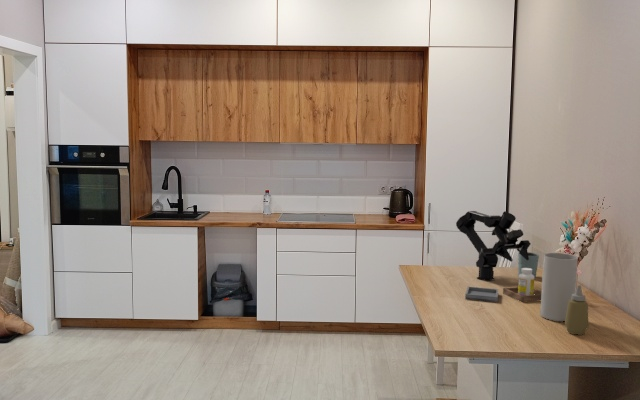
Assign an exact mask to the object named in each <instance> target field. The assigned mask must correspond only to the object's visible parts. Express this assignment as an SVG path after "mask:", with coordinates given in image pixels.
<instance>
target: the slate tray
mask: <svg viewBox="0 0 640 400" xmlns="http://www.w3.org/2000/svg"><path fill="white" fill-rule="evenodd" d="M464 296H465V298H464V300H471V301H481V302H491V303H498V299H499V289H497V288H488V287H476V286H467V287H466V291H465V294H464Z"/></svg>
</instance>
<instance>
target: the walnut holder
mask: <svg viewBox="0 0 640 400" xmlns="http://www.w3.org/2000/svg"><path fill="white" fill-rule="evenodd" d="M502 289H503V290H502V294H503V295H505V296H507V297H510V298H512V299H514V300H517V301H518V300H519V301H518V302H520V301H521V302H520V303H525V302H524V301H530V302H538V301H537V300H541V292H542V290H539V289H536V288H534V294H535V295H527V296H522V295H520V294H518V287H516V286H515V287H504V288H502Z"/></svg>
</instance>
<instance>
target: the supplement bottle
mask: <svg viewBox="0 0 640 400" xmlns="http://www.w3.org/2000/svg"><path fill="white" fill-rule="evenodd" d="M521 271H522V273H521V274H520V275H519V276H518V285H517V286H518V293H517V294H520V295H522V296H527V295H534V289H535V278H534V275H532V269H531V268H522V269H521Z"/></svg>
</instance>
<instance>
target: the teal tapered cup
mask: <svg viewBox="0 0 640 400" xmlns="http://www.w3.org/2000/svg"><path fill="white" fill-rule="evenodd" d="M527 252H528V251H527ZM528 257H529V260H526V259H525V258H524V257H523V256H522V255H521V254H519V252H518V253H517V259H518V261H517V263H518V265H517V266H518V267H517V268H518V274H517V275H518V277H519V275H520V274H521V273H522V271H521V269H522V268H531V269H532V275H534V279H536V278H537V272H538V264H539V259H540V254H539V253H535V252H528ZM535 277H536V278H535Z"/></svg>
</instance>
